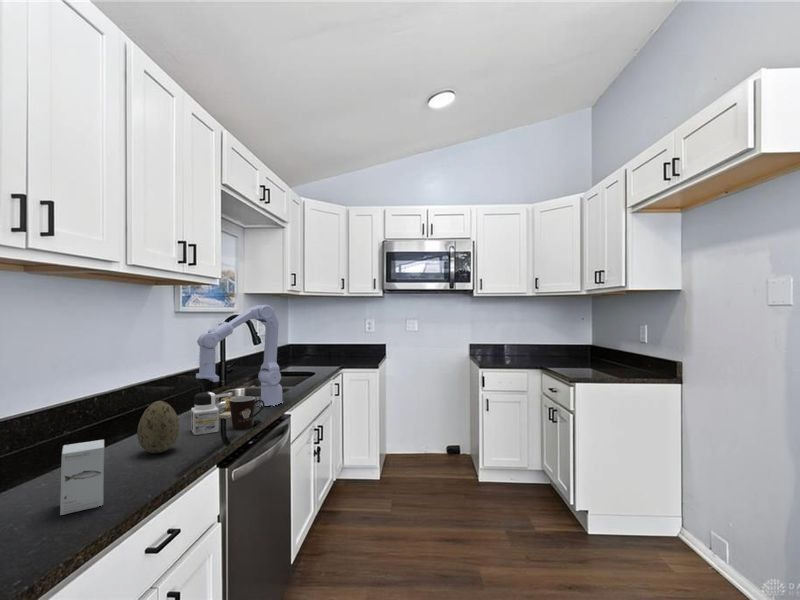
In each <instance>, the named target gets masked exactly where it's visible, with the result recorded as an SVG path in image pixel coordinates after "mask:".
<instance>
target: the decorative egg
mask: <svg viewBox="0 0 800 600" xmlns="http://www.w3.org/2000/svg"><path fill="white" fill-rule="evenodd" d="M136 434H137V440H138V443H139V445H140V446H141V447H142V449H143V450H144V451H146V452H148V453H151V454H161V453H164V452H167V450H169V449H171V448H172V447H173V446H174V444H175V443H176V442H177V440H178V438H179V435H180V421H179V417H178V414H177V413H176V411H175V410H174V408H173V407H172V406H171V405H170V404H169V403H168V402H166V401H163V400H158V401H157V400H156V401H154V402H152V403H151V404H150V405H149V406H148V407H147V408H146V409H145V410H144V412H143V414H142V416H141V418H140V419H139V422H138V425H137V433H136Z"/></svg>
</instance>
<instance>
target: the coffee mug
mask: <svg viewBox="0 0 800 600" xmlns="http://www.w3.org/2000/svg"><path fill="white" fill-rule="evenodd" d="M229 401H230V409H231V417H230V418H231V424H232V425H231V426H232V430H235V431H237V430H238V431H240V430H241V431H242V430H247V429H251V428H252V427H253V419H254V418H255V417H256V416H257V415H258V414H260V413H261V412H262V411H263V409H264V408H265V407H264V401H262V400H261V399H257V400H256V397H255V396H242V397H238V396H237V397H236V398H232V399H230V400H229ZM258 402H260V403H261V402H262V403H263V406H262V407H260V409H259V410H258V411H257V412H256V413H254V411H255V405H256V404H257V403H258Z"/></svg>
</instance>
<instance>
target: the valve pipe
mask: <svg viewBox="0 0 800 600" xmlns="http://www.w3.org/2000/svg"><path fill="white" fill-rule="evenodd" d="M236 397H243V396H242V395H239V396H236V395H232V396H225V397H221V398H220V401H219V402H215V406H216V407H217V408H218V409H219V414H222V413H224V410H225V409H230V401H229V400H230V399H232V398H236Z"/></svg>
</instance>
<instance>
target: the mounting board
mask: <svg viewBox="0 0 800 600" xmlns="http://www.w3.org/2000/svg"><path fill="white" fill-rule="evenodd" d="M223 418H224V419H225V420H227V418H228V419H230V418H231V409H225V410H224V413H222V414H219V419H223Z"/></svg>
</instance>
